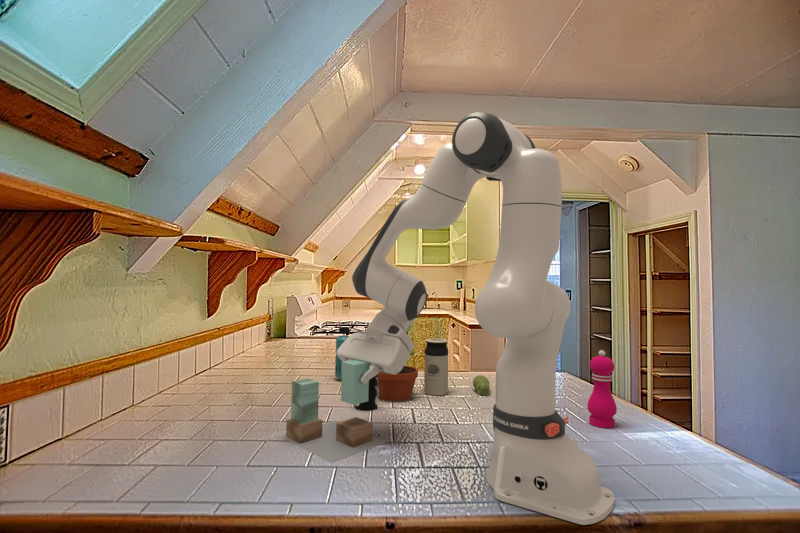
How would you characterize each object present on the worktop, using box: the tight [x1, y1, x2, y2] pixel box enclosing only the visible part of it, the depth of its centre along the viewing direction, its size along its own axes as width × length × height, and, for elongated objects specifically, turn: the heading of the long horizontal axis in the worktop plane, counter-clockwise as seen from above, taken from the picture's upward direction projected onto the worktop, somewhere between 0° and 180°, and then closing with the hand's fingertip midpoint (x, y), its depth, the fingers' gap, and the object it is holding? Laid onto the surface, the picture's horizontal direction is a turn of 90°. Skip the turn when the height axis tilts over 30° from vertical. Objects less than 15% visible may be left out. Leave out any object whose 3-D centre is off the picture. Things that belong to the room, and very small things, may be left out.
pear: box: [472, 374, 491, 397], centre depth 147 cm, size 6×5×10 cm
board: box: [280, 420, 388, 464], centre depth 100 cm, size 20×16×1 cm
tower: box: [285, 378, 323, 444], centre depth 101 cm, size 6×6×13 cm
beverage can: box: [354, 374, 379, 412], centre depth 125 cm, size 7×7×12 cm
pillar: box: [340, 360, 369, 406], centre depth 100 cm, size 4×4×9 cm
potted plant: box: [378, 322, 419, 402], centre depth 140 cm, size 15×15×30 cm
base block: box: [336, 416, 374, 447], centre depth 99 cm, size 6×6×4 cm
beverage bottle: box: [334, 326, 351, 379], centre depth 162 cm, size 6×7×20 cm
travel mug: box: [423, 337, 449, 397], centre depth 145 cm, size 8×8×18 cm
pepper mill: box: [587, 349, 618, 429], centre depth 116 cm, size 7×7×20 cm
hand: (353, 380), depth 99 cm, fingers closed on pillar, 4 cm apart
